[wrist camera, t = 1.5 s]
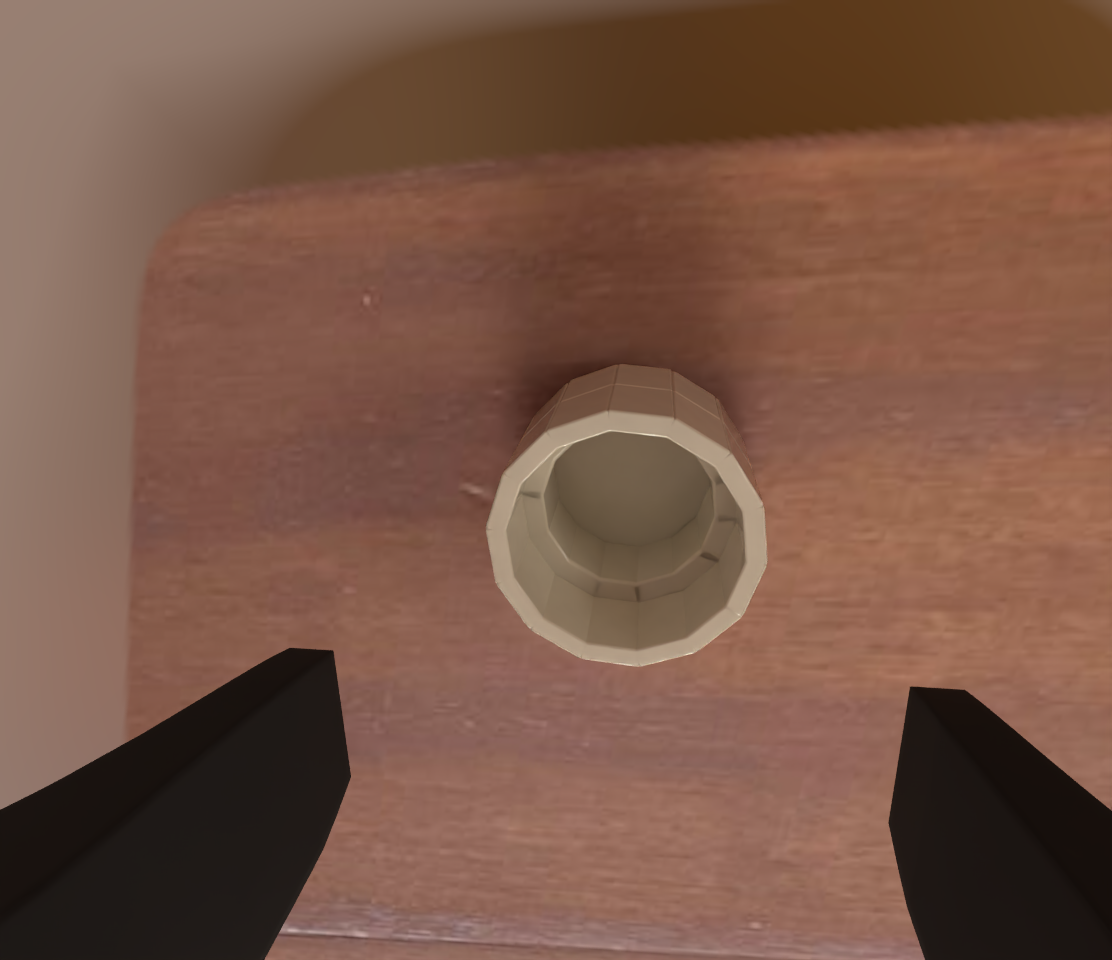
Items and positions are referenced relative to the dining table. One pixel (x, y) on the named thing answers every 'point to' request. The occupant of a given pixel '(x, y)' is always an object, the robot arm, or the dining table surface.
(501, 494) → the small beige cup
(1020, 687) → the dining table surface
